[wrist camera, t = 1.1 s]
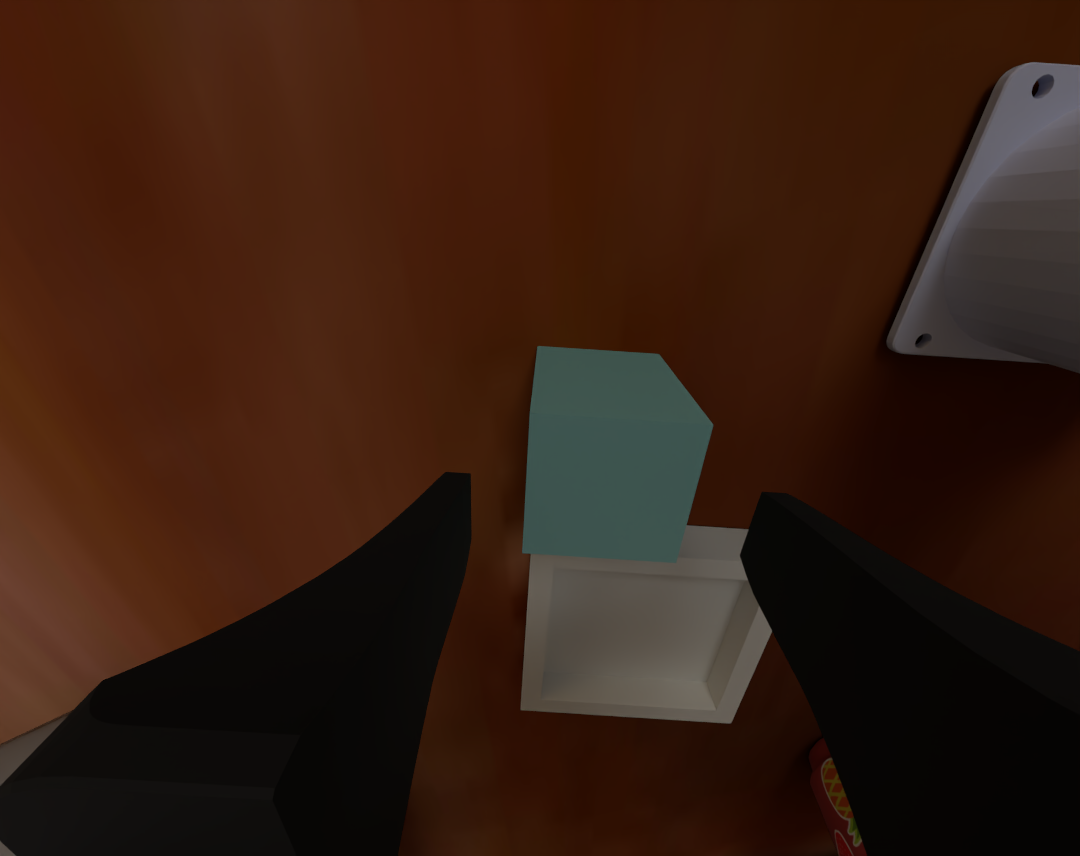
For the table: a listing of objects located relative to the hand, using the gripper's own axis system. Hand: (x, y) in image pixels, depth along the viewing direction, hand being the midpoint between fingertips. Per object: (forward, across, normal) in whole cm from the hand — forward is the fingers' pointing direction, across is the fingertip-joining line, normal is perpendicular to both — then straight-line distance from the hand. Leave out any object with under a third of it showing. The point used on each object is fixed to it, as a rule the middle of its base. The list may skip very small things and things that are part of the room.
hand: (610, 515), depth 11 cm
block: (+7, 0, 0) cm, 7 cm away
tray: (+7, -4, +11) cm, 13 cm away
